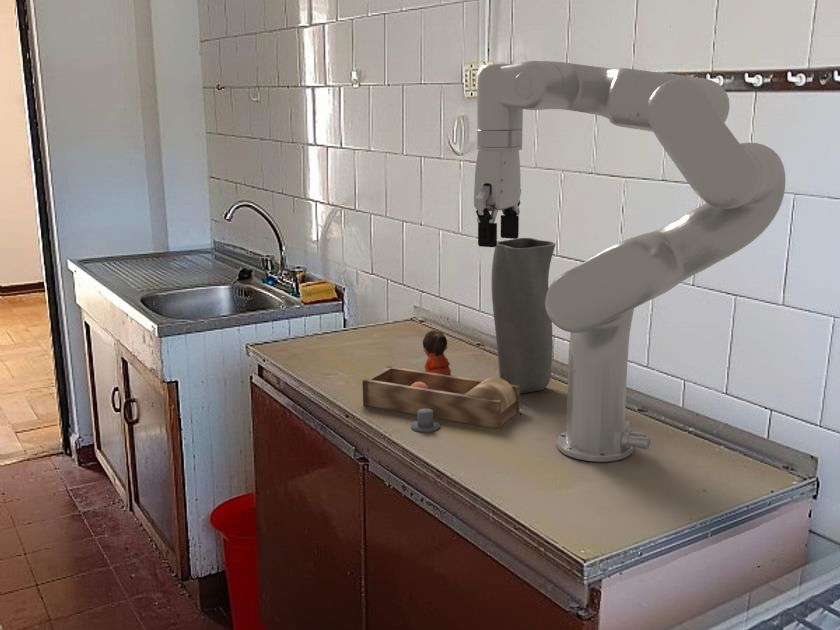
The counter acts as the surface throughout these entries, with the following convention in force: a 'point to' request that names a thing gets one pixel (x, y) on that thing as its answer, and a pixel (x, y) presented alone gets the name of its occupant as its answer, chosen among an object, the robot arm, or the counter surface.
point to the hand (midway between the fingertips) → (498, 242)
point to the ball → (420, 385)
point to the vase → (522, 312)
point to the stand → (425, 421)
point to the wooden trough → (443, 396)
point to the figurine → (436, 353)
